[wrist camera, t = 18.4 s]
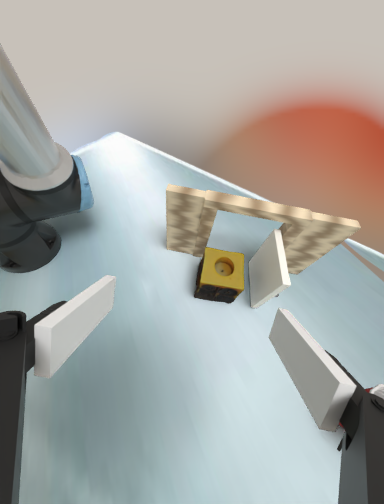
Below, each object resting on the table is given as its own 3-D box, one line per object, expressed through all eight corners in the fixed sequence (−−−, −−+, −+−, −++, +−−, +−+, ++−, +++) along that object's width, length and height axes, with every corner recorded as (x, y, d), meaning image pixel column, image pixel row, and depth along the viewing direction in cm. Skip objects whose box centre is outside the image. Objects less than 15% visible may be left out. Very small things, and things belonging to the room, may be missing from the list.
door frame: (296, 267, 57) (357, 219, 39) (297, 275, 56) (361, 230, 37) (168, 242, 57) (168, 182, 39) (166, 250, 56) (165, 191, 37)
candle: (193, 298, 49) (198, 283, 41) (198, 264, 54) (203, 245, 46) (231, 304, 49) (244, 291, 41) (232, 270, 55) (244, 253, 46)
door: (248, 262, 56) (274, 228, 42) (257, 264, 56) (286, 230, 42) (251, 307, 49) (283, 284, 35) (261, 309, 49) (297, 286, 35)
